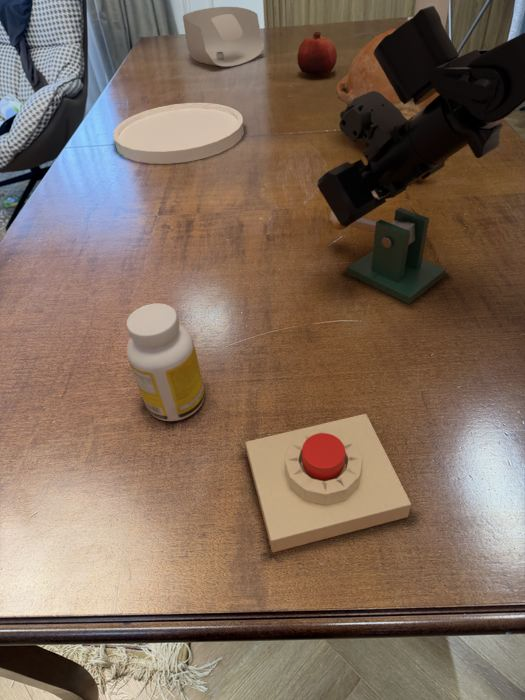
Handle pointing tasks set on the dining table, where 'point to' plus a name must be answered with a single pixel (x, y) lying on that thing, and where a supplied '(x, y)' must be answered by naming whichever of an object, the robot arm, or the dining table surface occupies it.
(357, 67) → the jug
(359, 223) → the lever
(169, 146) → the plate
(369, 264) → the bracket
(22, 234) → the dining table surface
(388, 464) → the button box
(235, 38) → the grey curved shell
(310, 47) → the fruit
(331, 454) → the button
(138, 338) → the pill bottle
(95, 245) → the dining table surface
